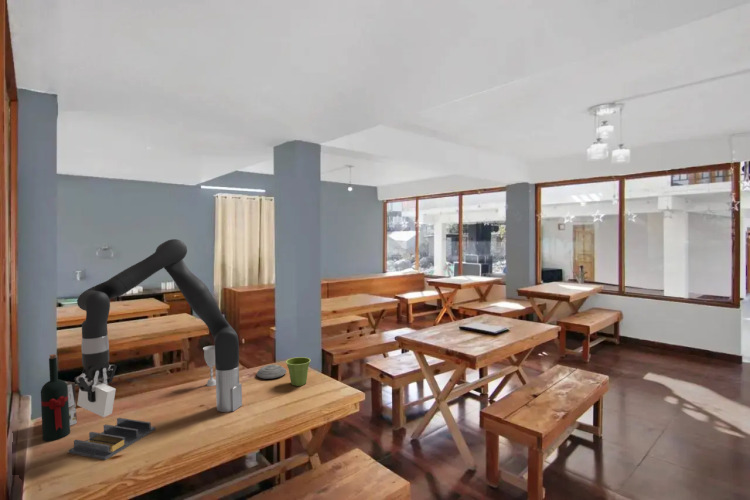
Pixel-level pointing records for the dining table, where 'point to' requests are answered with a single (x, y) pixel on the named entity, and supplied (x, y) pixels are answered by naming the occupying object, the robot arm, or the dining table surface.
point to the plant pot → (298, 370)
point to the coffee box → (72, 402)
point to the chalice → (210, 362)
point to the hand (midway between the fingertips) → (97, 399)
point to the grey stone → (271, 371)
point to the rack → (112, 439)
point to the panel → (98, 400)
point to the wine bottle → (55, 405)
